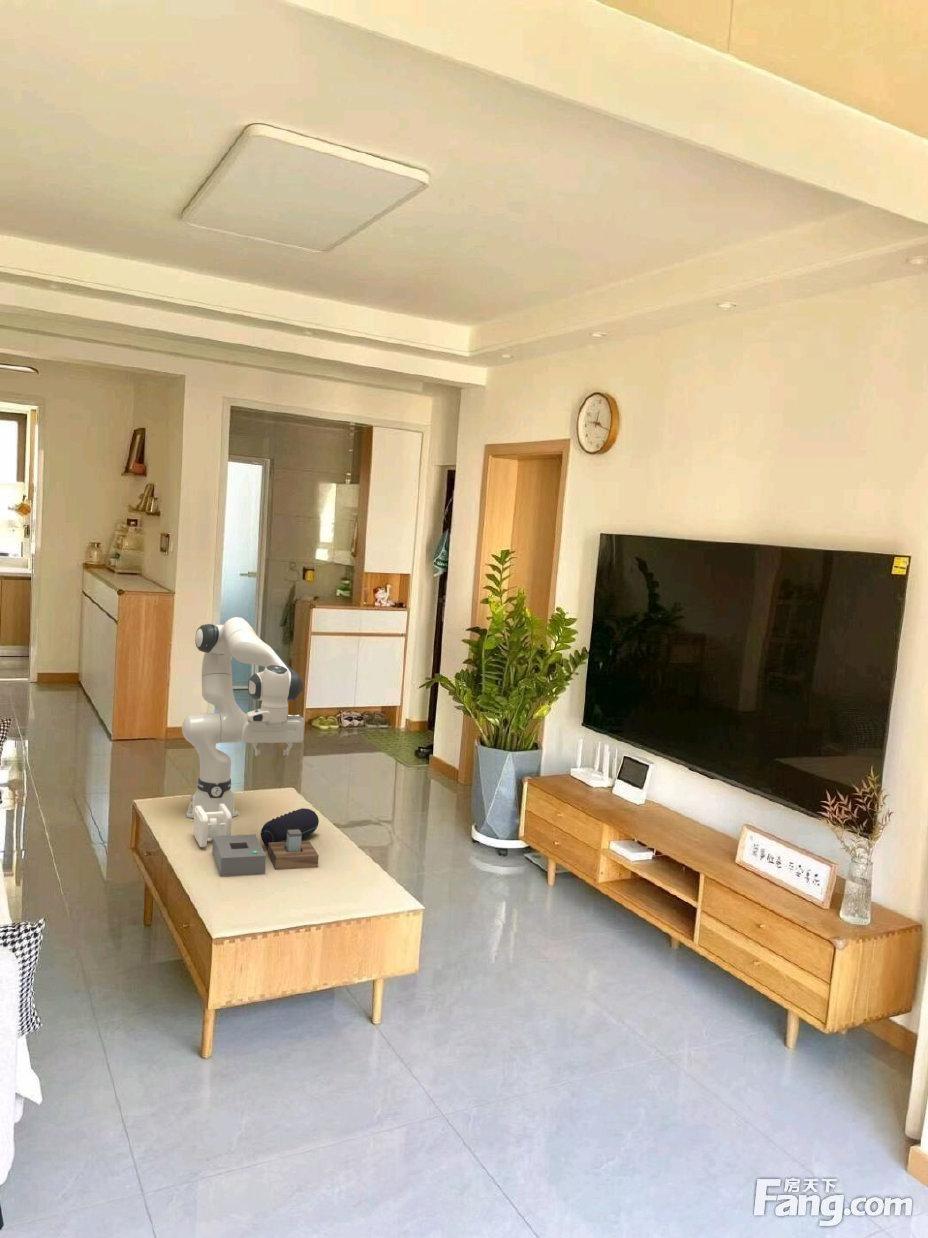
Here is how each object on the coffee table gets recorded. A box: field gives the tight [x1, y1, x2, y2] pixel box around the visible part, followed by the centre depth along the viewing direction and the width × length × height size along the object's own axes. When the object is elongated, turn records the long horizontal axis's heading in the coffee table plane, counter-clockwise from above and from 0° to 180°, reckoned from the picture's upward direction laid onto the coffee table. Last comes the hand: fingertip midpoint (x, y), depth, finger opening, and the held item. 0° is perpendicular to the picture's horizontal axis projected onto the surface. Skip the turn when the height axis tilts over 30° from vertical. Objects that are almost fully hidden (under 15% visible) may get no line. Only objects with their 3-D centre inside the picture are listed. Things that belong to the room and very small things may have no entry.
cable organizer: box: [192, 804, 233, 848], centre depth 331 cm, size 15×11×12 cm
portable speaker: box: [260, 807, 320, 849], centre depth 339 cm, size 25×10×10 cm, turn 153°
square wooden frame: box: [267, 840, 319, 870], centre depth 322 cm, size 14×14×4 cm
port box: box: [211, 833, 267, 877], centre depth 315 cm, size 20×14×6 cm
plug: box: [286, 829, 302, 852], centre depth 321 cm, size 4×4×10 cm
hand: (271, 755), depth 321 cm, fingers open, 8 cm apart
